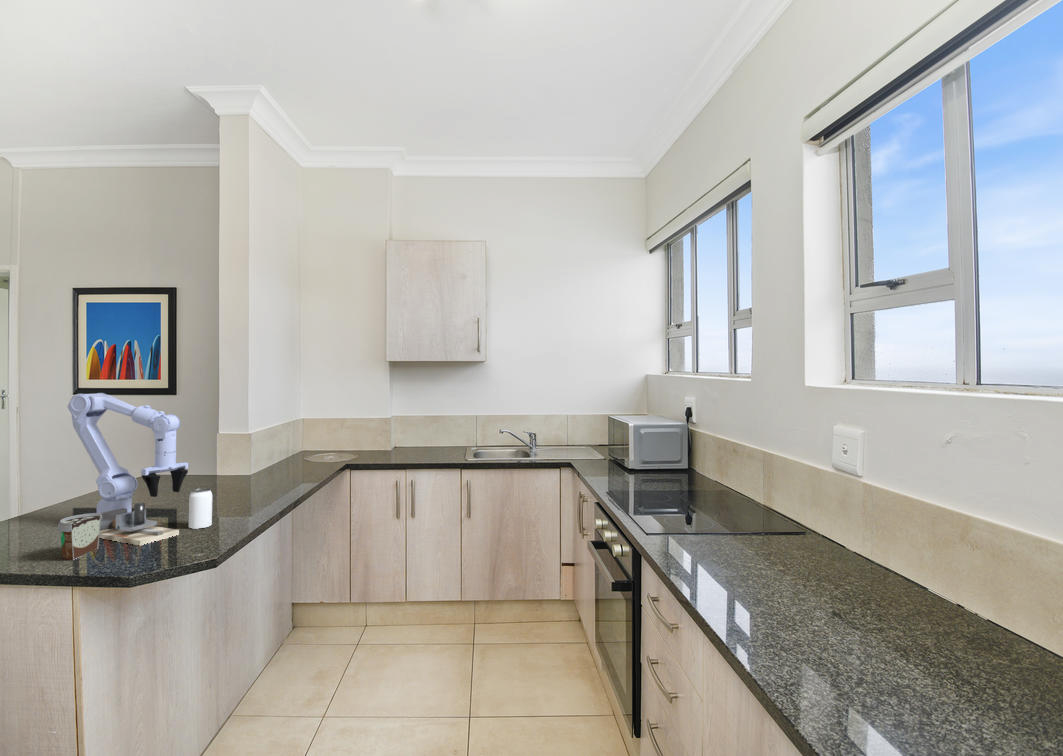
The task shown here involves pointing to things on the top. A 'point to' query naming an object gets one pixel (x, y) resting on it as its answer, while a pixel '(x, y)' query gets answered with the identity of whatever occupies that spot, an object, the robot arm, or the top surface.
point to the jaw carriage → (134, 519)
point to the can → (200, 508)
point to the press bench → (132, 537)
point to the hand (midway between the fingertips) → (165, 494)
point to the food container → (79, 534)
